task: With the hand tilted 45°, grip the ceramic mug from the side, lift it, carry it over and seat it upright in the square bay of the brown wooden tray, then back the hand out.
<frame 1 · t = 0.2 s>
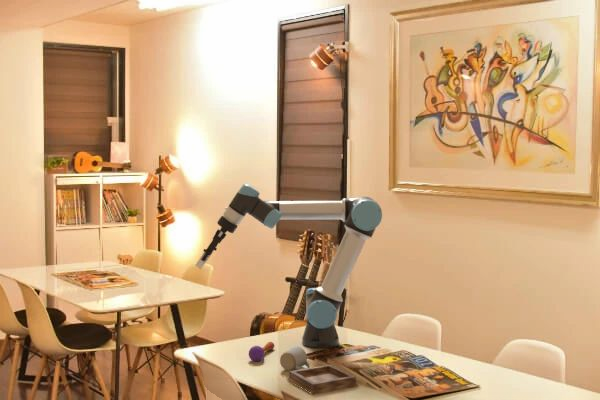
hand: (200, 264, 324), 35 cm above the table, tool tilted 35°, fingers open, 13 cm apart
brown wooden tray: (322, 383, 289), on the table
ceramic mug: (296, 369, 305), on the table
purple maraca: (262, 356, 323), on the table
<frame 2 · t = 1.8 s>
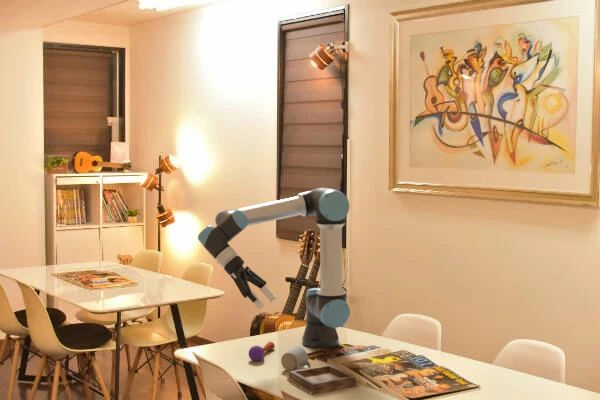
hand: (268, 303, 306), 24 cm above the table, tool tilted 45°, fingers open, 13 cm apart
nothing on the table moved.
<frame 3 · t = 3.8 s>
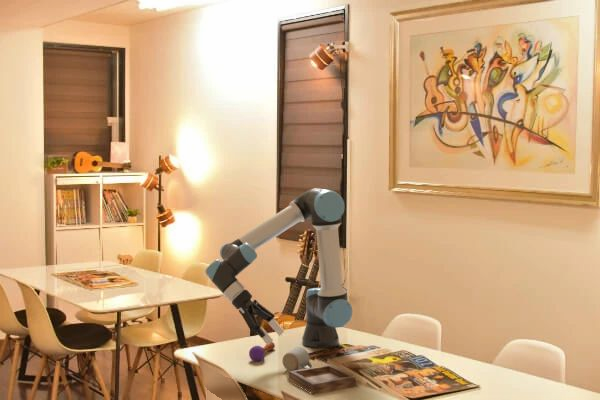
hand: (276, 338, 306), 11 cm above the table, tool tilted 45°, fingers open, 13 cm apart
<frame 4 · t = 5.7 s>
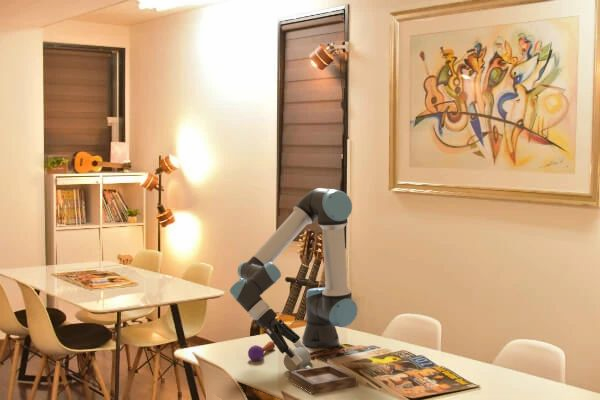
hand: (304, 359, 304), 4 cm above the table, tool tilted 45°, fingers open, 10 cm apart
ceramic mug: (300, 370, 304), on the table, touching gripper
everything else where it was.
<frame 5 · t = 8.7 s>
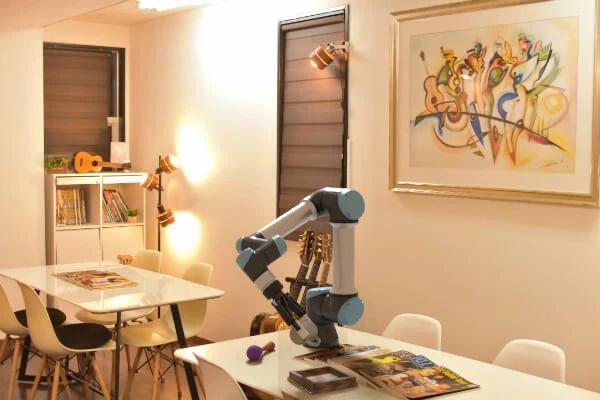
hand: (310, 333, 294), 16 cm above the table, tool tilted 45°, fingers closed on ceramic mug, 9 cm apart
ceramic mug: (306, 344, 295), point 12 cm above the table, touching gripper
everything else where it was.
when the fingers open (6 cm above the table, at t = 11.6 s): ceramic mug drops 1 cm, resting on brown wooden tray.
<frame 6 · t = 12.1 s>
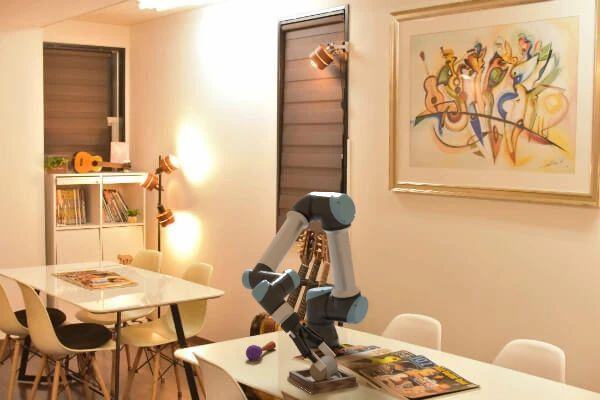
hand: (328, 363, 287), 7 cm above the table, tool tilted 45°, fingers open, 13 cm apart
ceramic mug: (326, 380, 288), point 1 cm above the table, touching brown wooden tray
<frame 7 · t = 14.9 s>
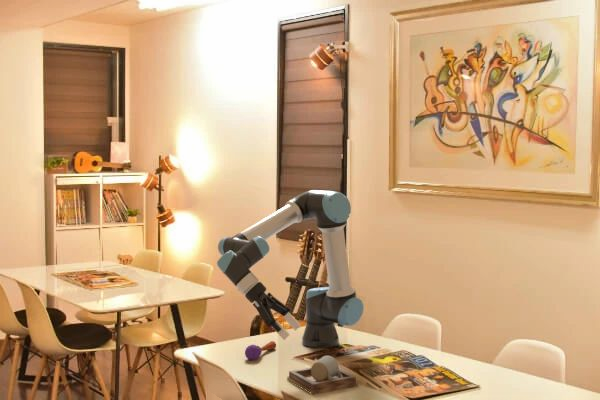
hand: (292, 332, 290), 17 cm above the table, tool tilted 45°, fingers open, 13 cm apart
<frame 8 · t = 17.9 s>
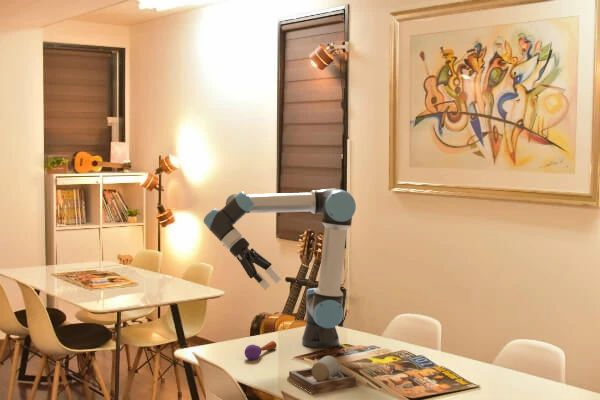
hand: (273, 284, 313), 30 cm above the table, tool tilted 45°, fingers open, 13 cm apart
at the end: ceramic mug 2.4 cm off-centre on the brown wooden tray, point 1.0 cm above the brown wooden tray's base; ceramic mug tilted 1°; the gripper is holding nothing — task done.
